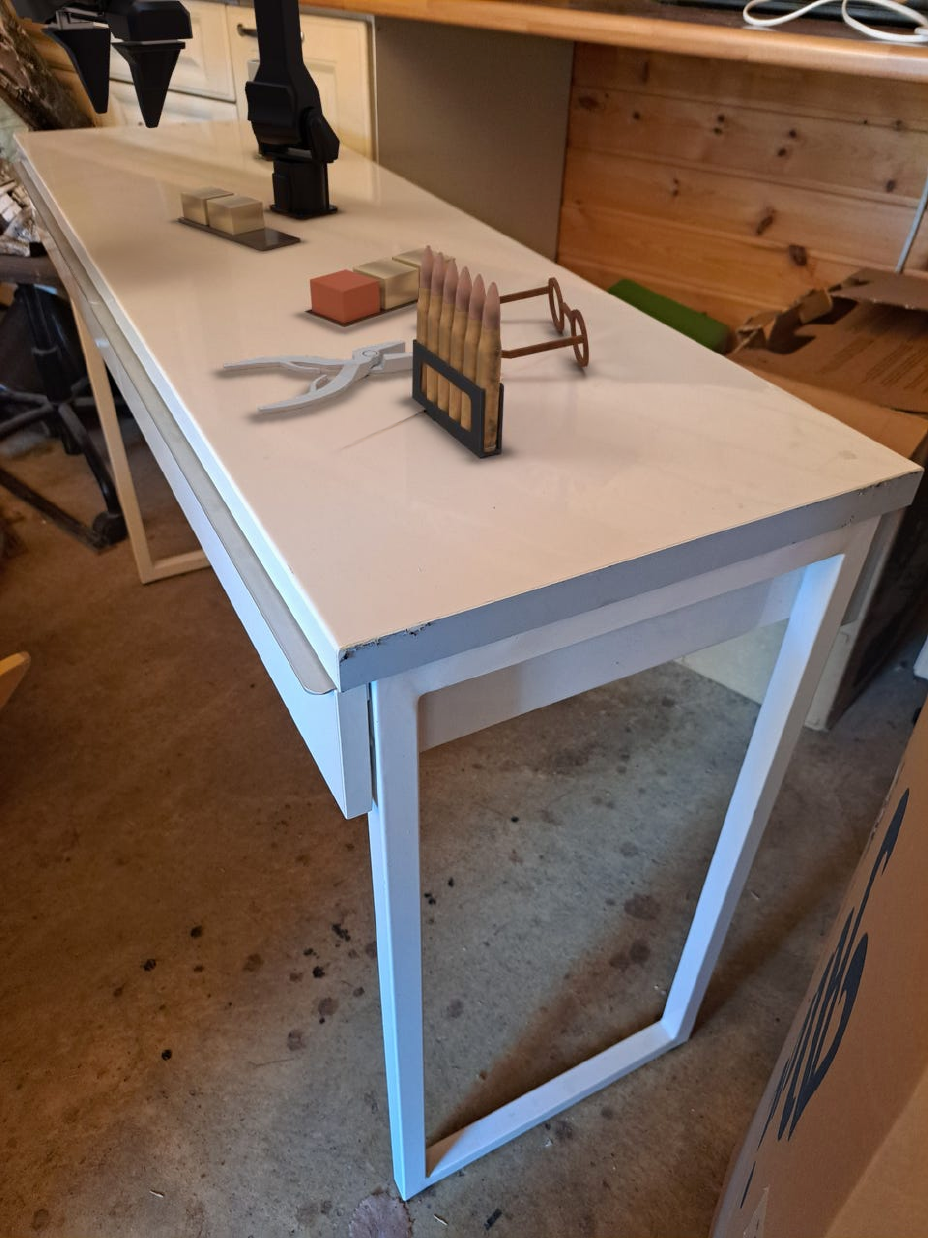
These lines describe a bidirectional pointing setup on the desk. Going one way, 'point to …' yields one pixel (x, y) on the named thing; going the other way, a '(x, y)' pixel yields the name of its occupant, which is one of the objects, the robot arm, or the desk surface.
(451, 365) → the ammunition clip
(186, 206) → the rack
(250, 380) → the desk surface
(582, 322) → the glasses
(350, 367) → the pliers
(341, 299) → the red block
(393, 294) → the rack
